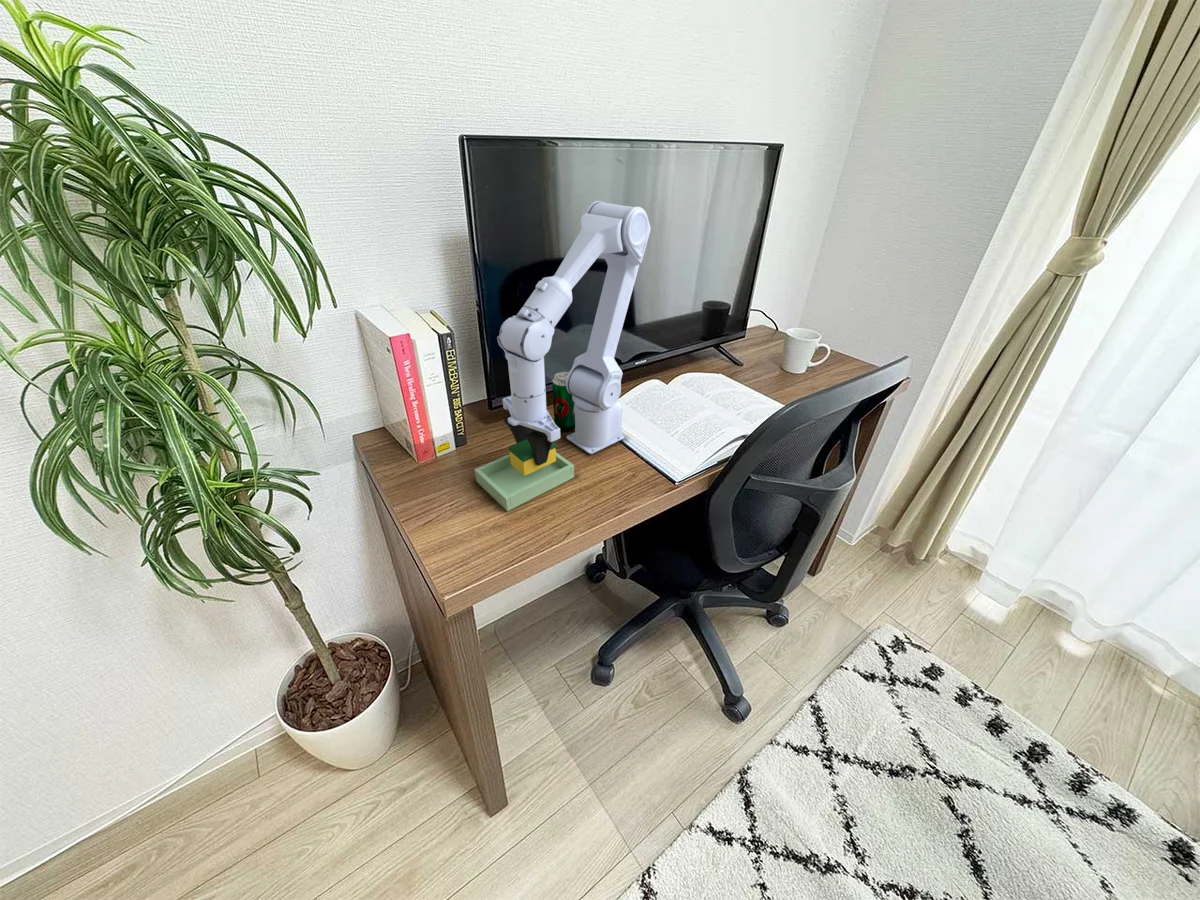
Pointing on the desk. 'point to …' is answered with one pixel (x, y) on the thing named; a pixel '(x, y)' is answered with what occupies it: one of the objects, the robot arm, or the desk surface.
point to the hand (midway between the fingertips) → (533, 456)
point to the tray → (521, 480)
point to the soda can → (563, 403)
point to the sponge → (528, 457)
